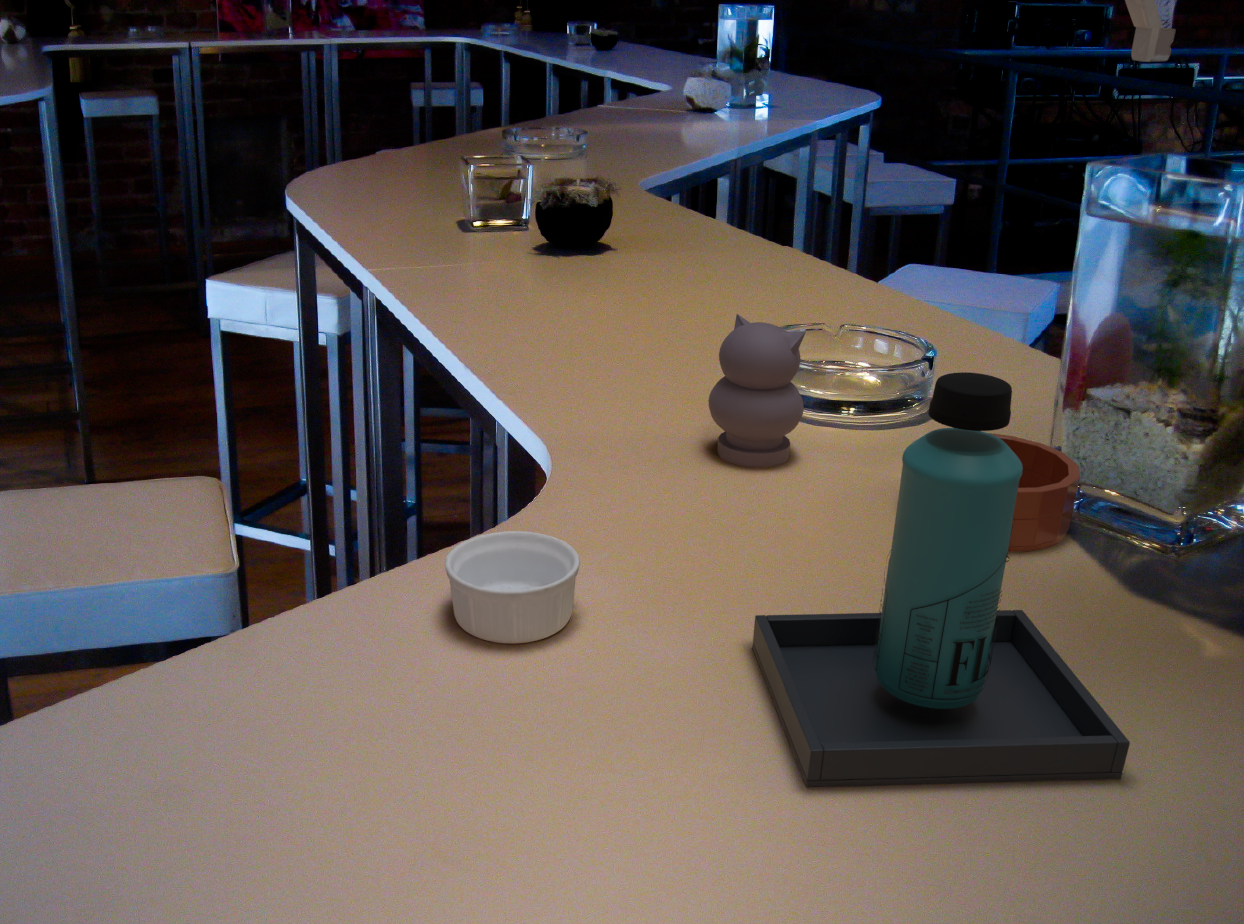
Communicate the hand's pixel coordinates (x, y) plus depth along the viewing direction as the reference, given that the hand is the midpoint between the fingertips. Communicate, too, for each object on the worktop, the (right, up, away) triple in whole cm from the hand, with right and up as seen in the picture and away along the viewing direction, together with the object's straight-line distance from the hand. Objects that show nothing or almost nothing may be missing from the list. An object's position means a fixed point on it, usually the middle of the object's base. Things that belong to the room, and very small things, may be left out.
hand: (1227, 61), depth 71 cm
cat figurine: (-22, -21, +38) cm, 48 cm away
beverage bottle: (-17, -38, +1) cm, 41 cm away
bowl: (-5, -27, +26) cm, 37 cm away
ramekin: (-42, -33, +11) cm, 55 cm away
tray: (-17, -38, +1) cm, 42 cm away
